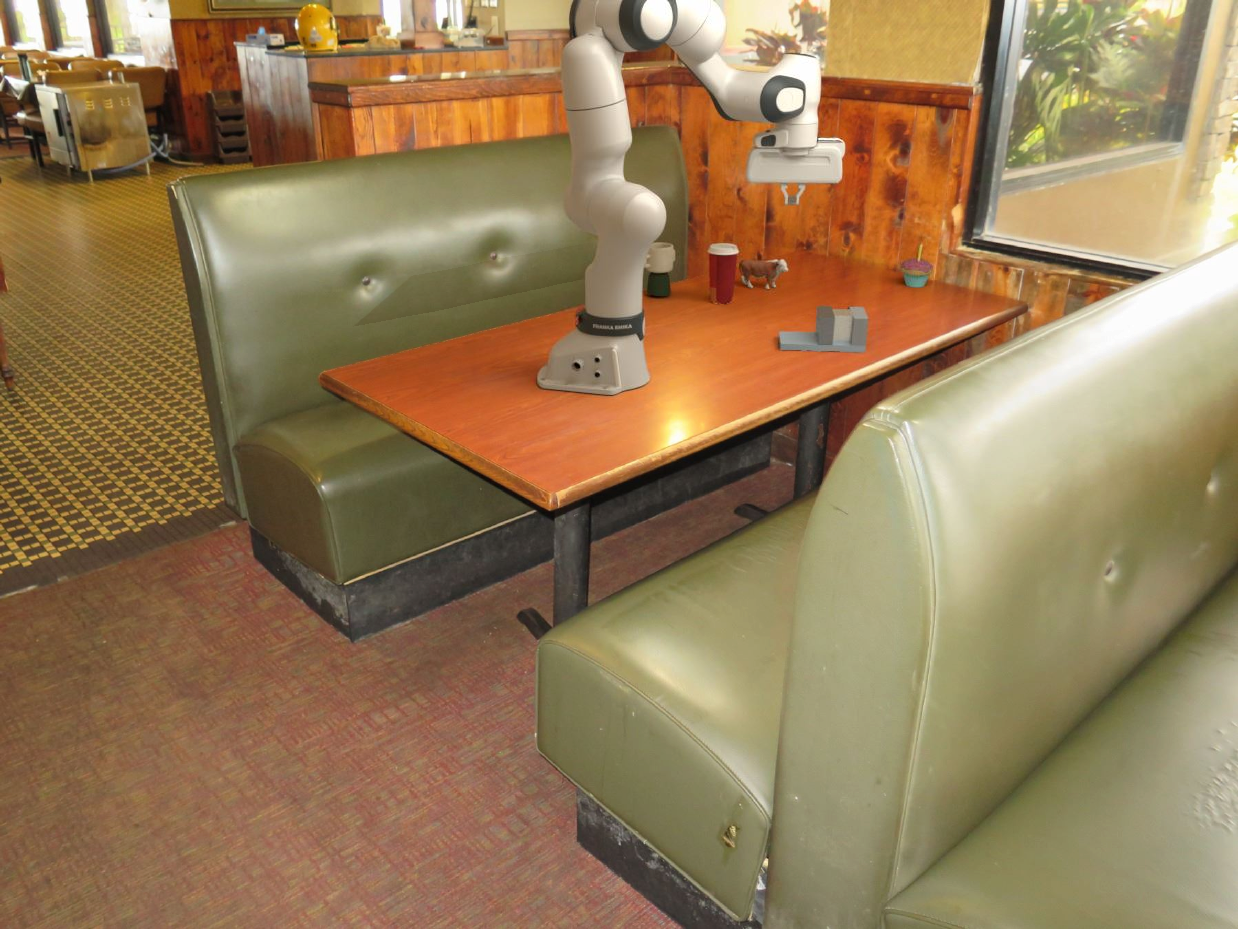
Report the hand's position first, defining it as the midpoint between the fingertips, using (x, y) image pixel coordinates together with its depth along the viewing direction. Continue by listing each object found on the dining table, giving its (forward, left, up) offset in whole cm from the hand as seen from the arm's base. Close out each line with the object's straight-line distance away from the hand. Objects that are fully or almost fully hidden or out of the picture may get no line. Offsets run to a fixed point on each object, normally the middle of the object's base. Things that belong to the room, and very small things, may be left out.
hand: (791, 204), depth 214 cm
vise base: (+8, -3, -29) cm, 30 cm away
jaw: (+8, -7, -28) cm, 29 cm away
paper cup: (-14, +27, -29) cm, 42 cm away
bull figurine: (-3, +41, -29) cm, 51 cm away
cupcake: (+37, +47, -29) cm, 67 cm away
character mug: (-30, +31, -29) cm, 52 cm away
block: (+12, -7, -28) cm, 31 cm away
